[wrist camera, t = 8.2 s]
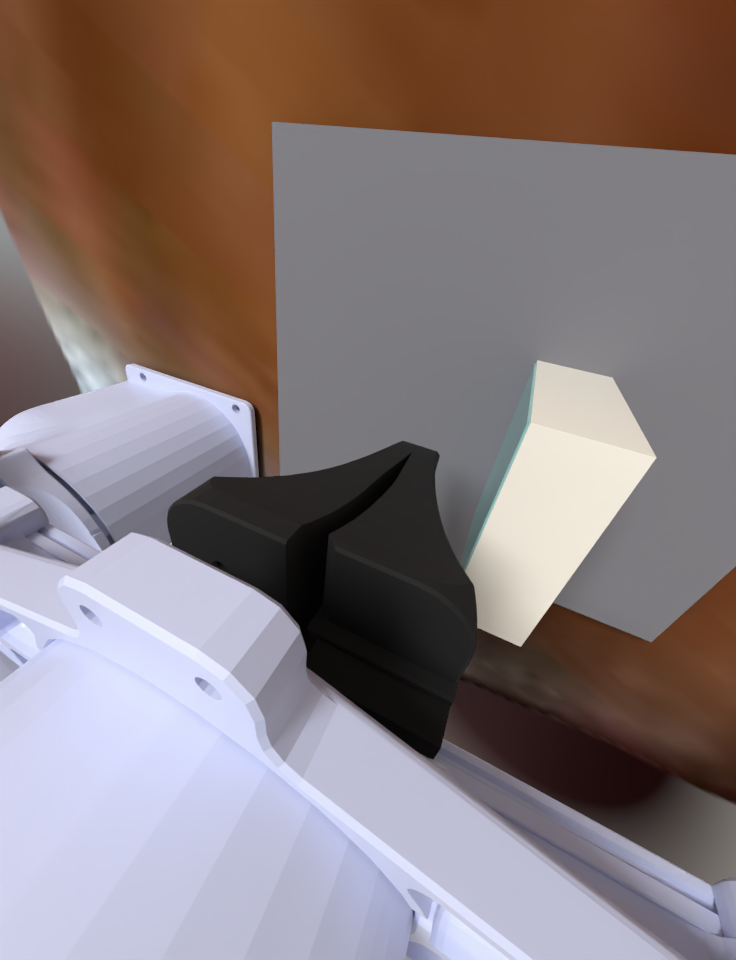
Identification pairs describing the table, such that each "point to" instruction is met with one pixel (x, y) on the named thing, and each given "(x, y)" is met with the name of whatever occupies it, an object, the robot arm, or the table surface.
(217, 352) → the table surface
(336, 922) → the robot arm
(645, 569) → the mat
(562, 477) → the tile
